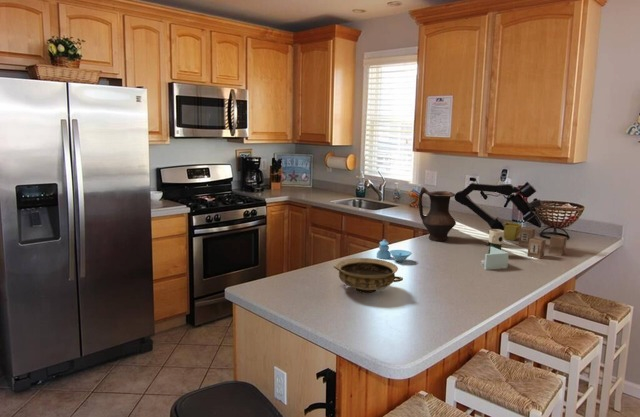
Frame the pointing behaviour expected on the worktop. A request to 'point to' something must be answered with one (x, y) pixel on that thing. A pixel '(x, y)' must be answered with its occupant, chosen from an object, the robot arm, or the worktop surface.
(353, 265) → the ceramic bowl
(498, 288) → the worktop surface
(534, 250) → the numbered block
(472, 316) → the worktop surface
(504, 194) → the robot arm
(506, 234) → the flower pot
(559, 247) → the plain block
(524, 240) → the numbered block
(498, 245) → the character mug
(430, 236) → the jug
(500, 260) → the l-shaped corner panel
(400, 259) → the blue jar and dish
